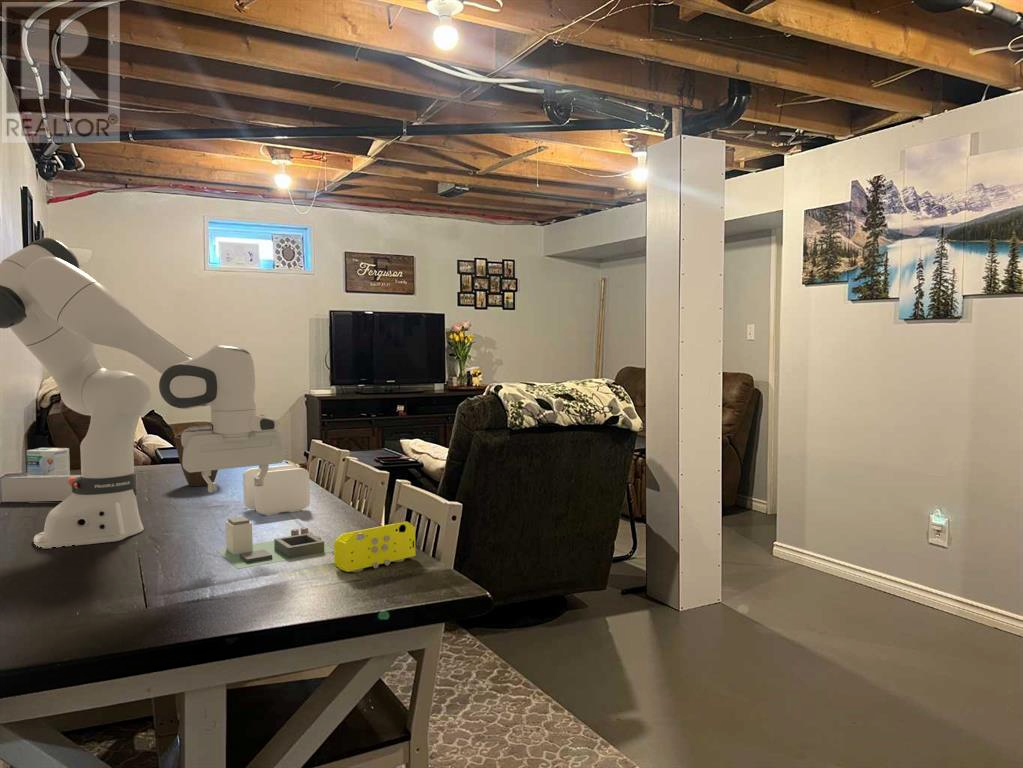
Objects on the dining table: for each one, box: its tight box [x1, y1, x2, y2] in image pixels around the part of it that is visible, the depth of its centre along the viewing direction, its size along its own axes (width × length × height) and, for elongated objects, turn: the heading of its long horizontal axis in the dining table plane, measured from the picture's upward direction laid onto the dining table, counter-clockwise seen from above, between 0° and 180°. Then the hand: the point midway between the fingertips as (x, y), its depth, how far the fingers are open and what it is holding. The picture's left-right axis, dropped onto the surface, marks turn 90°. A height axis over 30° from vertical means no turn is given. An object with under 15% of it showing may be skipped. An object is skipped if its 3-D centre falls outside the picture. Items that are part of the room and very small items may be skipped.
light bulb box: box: [26, 447, 71, 476], centre depth 243 cm, size 11×7×11 cm, turn 81°
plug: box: [225, 516, 254, 554], centre depth 155 cm, size 4×5×7 cm
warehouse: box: [0, 474, 81, 502], centre depth 218 cm, size 30×14×8 cm, turn 93°
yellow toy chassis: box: [333, 521, 417, 573], centre depth 150 cm, size 16×6×8 cm, turn 132°
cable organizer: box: [242, 464, 311, 516], centre depth 199 cm, size 15×11×12 cm
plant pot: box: [174, 434, 219, 487], centre depth 236 cm, size 15×15×16 cm
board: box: [215, 527, 334, 570], centre depth 155 cm, size 20×16×4 cm
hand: (236, 488), depth 154 cm, fingers open, 8 cm apart
